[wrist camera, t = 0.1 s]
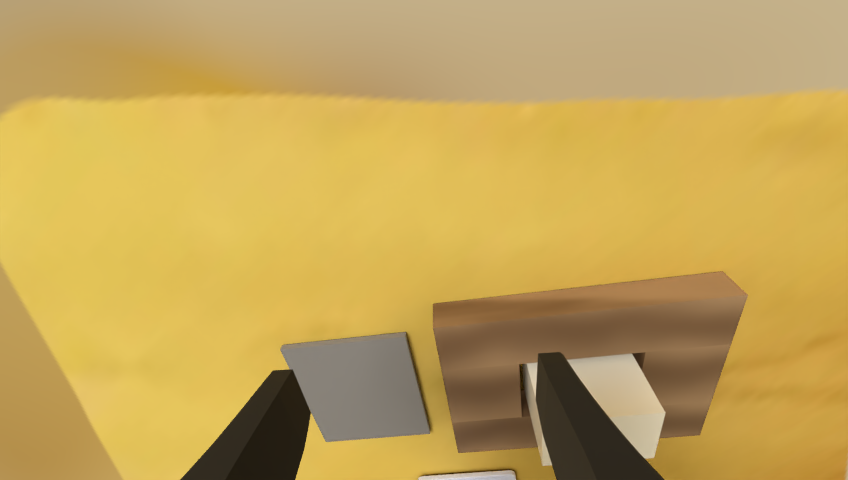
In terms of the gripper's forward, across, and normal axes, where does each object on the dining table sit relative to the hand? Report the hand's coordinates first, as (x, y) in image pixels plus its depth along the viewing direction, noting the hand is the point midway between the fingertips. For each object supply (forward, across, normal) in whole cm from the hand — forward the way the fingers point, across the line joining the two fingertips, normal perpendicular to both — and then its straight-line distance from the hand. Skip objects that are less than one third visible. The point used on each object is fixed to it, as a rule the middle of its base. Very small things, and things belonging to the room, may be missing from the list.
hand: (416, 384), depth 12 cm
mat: (+10, +6, +13) cm, 17 cm away
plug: (+10, -8, +11) cm, 17 cm away
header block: (+10, -8, +11) cm, 17 cm away
